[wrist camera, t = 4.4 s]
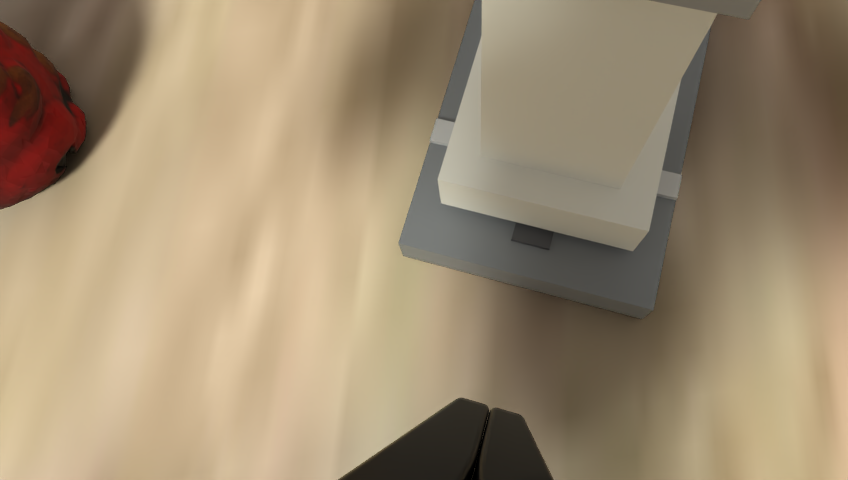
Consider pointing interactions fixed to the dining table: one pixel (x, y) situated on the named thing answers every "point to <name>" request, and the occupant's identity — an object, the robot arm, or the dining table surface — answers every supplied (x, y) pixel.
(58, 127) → the red clay folk toy
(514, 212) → the fader tab
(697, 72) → the fader console
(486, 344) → the dining table surface
